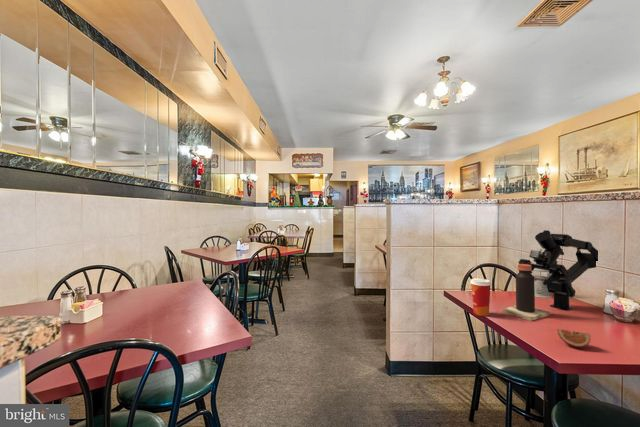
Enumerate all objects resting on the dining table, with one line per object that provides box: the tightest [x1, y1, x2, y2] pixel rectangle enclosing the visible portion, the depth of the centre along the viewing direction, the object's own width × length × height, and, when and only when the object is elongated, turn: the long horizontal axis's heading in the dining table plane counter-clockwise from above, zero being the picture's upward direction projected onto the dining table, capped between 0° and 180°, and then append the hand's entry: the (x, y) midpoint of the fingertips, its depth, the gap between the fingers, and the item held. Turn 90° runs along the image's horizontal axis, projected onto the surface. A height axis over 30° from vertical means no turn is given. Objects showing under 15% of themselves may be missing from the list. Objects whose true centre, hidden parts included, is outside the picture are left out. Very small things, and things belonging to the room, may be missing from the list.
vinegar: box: [515, 263, 536, 312], centre depth 128 cm, size 7×7×20 cm
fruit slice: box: [556, 328, 591, 349], centre depth 98 cm, size 8×7×5 cm
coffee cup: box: [469, 277, 492, 317], centre depth 129 cm, size 8×8×15 cm
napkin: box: [501, 304, 551, 322], centre depth 128 cm, size 14×12×2 cm
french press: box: [532, 248, 553, 299], centre depth 155 cm, size 10×12×25 cm
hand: (533, 282), depth 129 cm, fingers open, 9 cm apart
